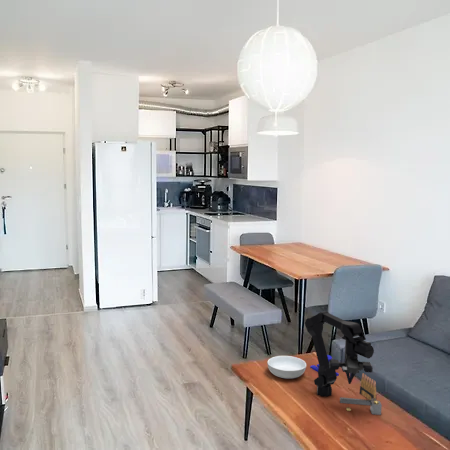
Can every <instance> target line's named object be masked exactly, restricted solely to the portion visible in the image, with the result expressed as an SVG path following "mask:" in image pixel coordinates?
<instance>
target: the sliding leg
mask: <svg viewBox="0 0 450 450" xmlns="http://www.w3.org/2000/svg"><path fill="white" fill-rule="evenodd" d="M369 406H370V408H369V410H370V413H371V415H377V416H382V409H383V408H382V407H383V406H382V403H381V401H380V400H377V398H376V399H375V398H372V400H371V405H369Z"/></svg>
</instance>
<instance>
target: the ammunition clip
mask: <svg viewBox="0 0 450 450" xmlns="http://www.w3.org/2000/svg"><path fill="white" fill-rule="evenodd" d="M360 381H361V382H360V386H359V394H360V395H362V396H363V397H365V399H366V400H372V398H375V399H376V400H377V383H376V380H374V379H373V378H371V377H369V376H368V375H367V374H365V373H363V372H362V374H361V380H360Z"/></svg>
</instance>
